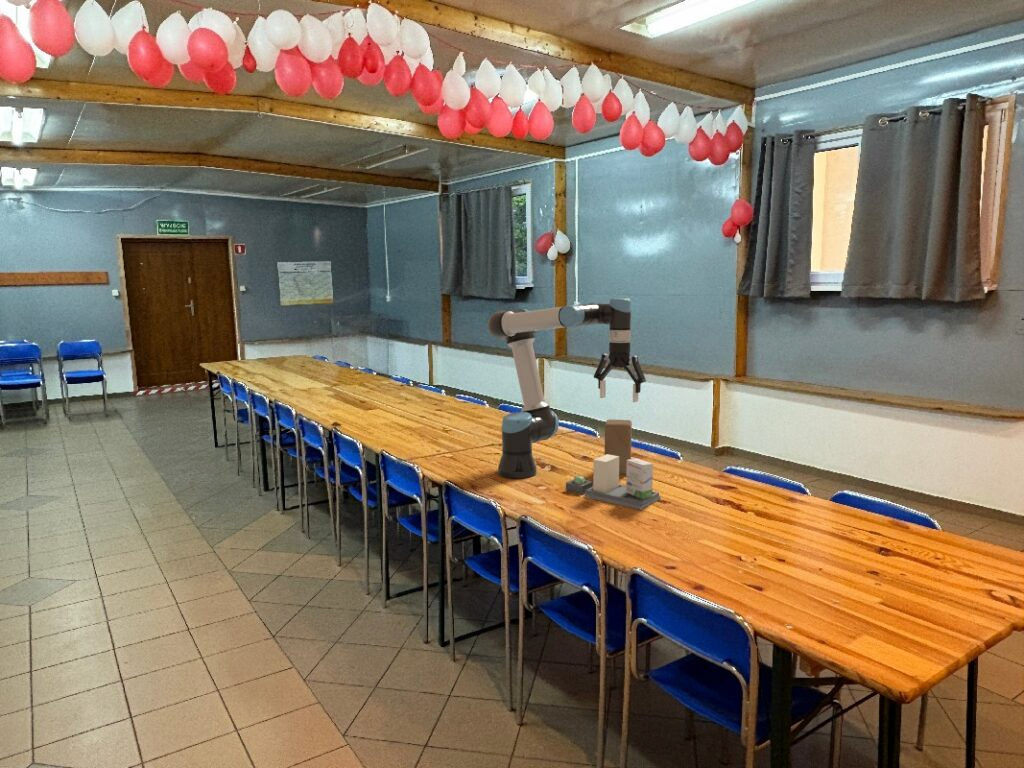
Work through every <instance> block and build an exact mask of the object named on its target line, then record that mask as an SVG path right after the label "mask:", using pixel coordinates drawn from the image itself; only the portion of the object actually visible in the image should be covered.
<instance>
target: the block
mask: <svg viewBox="0 0 1024 768" xmlns="http://www.w3.org/2000/svg"><path fill="white" fill-rule="evenodd" d="M632 425H633V422H632V421H631V420H630V419H613V418H612V419H607V420H606V422H605V425H604V455H606V454H609V455H614V456H619V475H621V476H622V475H623V476H625V475H626V469H627V460H629V459H632V433H633V432H632V431H633V430H632V429H633V427H632Z"/></svg>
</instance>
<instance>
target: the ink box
mask: <svg viewBox="0 0 1024 768" xmlns="http://www.w3.org/2000/svg"><path fill="white" fill-rule="evenodd" d="M653 473H654V463H651V462H649V461H645V460H643V459H640V458H631V459H629V460H627V469H626V476H625V477H626V478H625V482H626V483H625V485H626V493H629V494H631V495H633V496H636V497H638V498H641V499H645V498H649V497H652V491H653V476H654V475H653Z"/></svg>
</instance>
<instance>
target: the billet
mask: <svg viewBox="0 0 1024 768" xmlns="http://www.w3.org/2000/svg"><path fill="white" fill-rule="evenodd" d="M592 482H593V491H598V492H602V493H609V492H611V491H613V490H615V489H617V488H619V484H620V474H619V456H614V455H609V454H606V455H605V454H604V455H601V456H599V457H597V458H594V459H593V481H592Z"/></svg>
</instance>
